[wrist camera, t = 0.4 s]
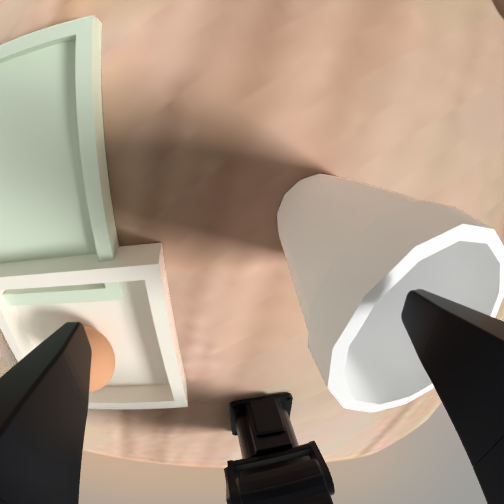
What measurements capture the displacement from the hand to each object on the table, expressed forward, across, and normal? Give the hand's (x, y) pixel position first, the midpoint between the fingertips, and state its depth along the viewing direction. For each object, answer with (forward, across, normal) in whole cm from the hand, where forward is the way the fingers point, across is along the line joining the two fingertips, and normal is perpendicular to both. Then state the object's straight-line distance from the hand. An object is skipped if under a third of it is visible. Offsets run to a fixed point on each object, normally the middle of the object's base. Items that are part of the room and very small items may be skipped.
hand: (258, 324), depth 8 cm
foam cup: (+14, -7, +2) cm, 16 cm away
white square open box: (+14, +11, +11) cm, 20 cm away
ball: (+10, +10, +11) cm, 18 cm away
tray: (+14, +16, -2) cm, 21 cm away
